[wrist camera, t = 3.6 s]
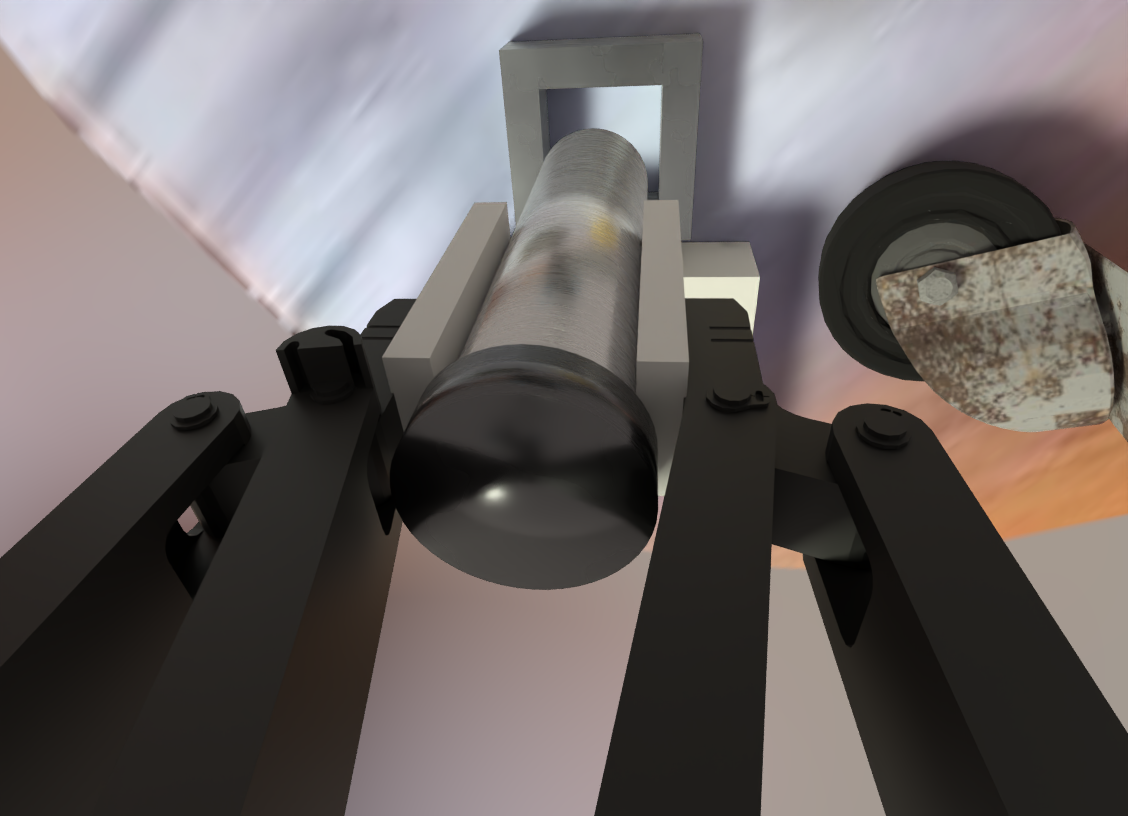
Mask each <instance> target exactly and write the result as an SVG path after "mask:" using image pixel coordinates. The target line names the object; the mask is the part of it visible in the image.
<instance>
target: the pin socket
mask: <svg viewBox="0 0 1128 816" xmlns="http://www.w3.org/2000/svg"><path fill="white" fill-rule="evenodd" d="M702 49H703V40H702V38H701V35H700V33H695V34H672V35H650V36H627V37H605V38H582V39H560V40H537V41H515V42H508V43H507V44H506V45H505V46H503V47H502V48H501V49H500V50H499V55H500V65H501V75H502V86H503V96H504V106H505V117H506V127H507V137H508V148H509V158H510V168H511V179H512V189H513V199H514V209H515V220H516V225H517V223H518V221H519V219H520V216H521V214H522V212H523V209H524V207H525V205H526V202H527V200H528V198H529V195H530V193H531V191H532V188H533V186H534V184H535V181H536V179H537V177H538V174H539V172H540V170H541V167H542V165H543V163H544V160H545V158H546V156H547V155H548V153H549V151H550V138H549V122H548V106H547V90H546V89H561V88H589V87H617V86H645V85H662V93H661V125H660V158H659V190H658V192H647V200H678V202H679V217H680V232H681V240H691V228H692V212H693V196H694V179H695V163H696V147H697V131H698V114H699V98H700V82H701V66H702Z"/></svg>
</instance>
